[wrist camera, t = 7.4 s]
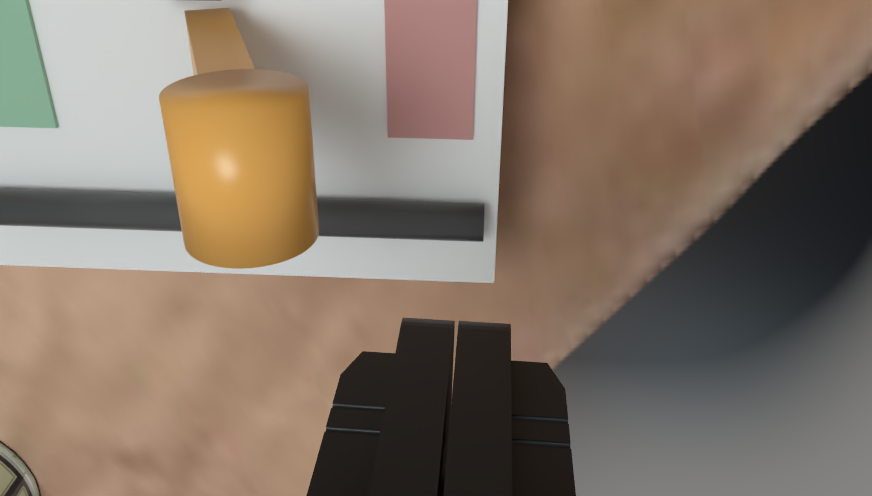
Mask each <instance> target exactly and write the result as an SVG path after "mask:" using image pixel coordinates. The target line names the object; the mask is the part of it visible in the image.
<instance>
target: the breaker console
mask: <svg viewBox="0 0 872 496" xmlns="http://www.w3.org/2000/svg"><path fill="white" fill-rule="evenodd" d="M217 8H229V9H230V11H231V13H232V16H233V18H234V20H235V23H236V25H237V27H238V30H239V32H240V35H241V37H242V39H243V42H244V44H245V46H246V49H247V51H248V53H249V56H250V58H251V60H252V63H253V65H254V68H255V69H263V70H273V71H280V72H285V73H289V74H292V75H295V76H298V77H300V78H302V79H303V80H304V81H306V83H307V84H308V87H309V99H310V112H311V126H312V139H313V152H314V166H315V179H316V192H317V206H318V219H319V236H318V238H317V240H316V242H315V243H314V244H313V245H312V246H311V247H310V248H309V249H308V250H306V251H305V252H303V253H302V254H300V255H298V256H296V257H294V258H292V259H289V260H287V261H284V262H281V263H277V264H273V265H269V266H263V267H256V268H244V269H234V268H222V267H216V266H212V265H208V264H205V263H202V262H200V261H198V260H196V259H194V258H193V257H192V256H190V255H189V253H188V252H187V251H186V249H185V246H184V241H183V235H182V229H181V224H180V218H179V212H178V206H177V200H176V194H175V189H174V183H173V177H172V171H171V165H170V160H169V154H168V148H167V142H166V136H165V130H164V125H163V119H162V113H161V107H160V101H159V94H160V92H161V91H162V90H163V89H164V88H165V87H167V86H168V85H170V84H172V83H173V82H176V81H178V80H181V79H184V78H187V77H190V76H194V74H193V67H192V60H191V54H190V47H189V40H188V33H187V26H186V20H185V13H184V11H185V10H201V9H217ZM507 13H508V0H0V265H16V266H44V267H71V268H98V269H126V270H153V271H180V272H207V273H235V274H262V275H289V276H316V277H344V278H371V279H398V280H426V281H453V282H480V283H494V275H495V255H496V235H497V214H498V194H499V174H500V154H501V134H502V114H503V93H504V73H505V53H506V33H507Z"/></svg>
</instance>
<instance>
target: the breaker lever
mask: <svg viewBox="0 0 872 496" xmlns="http://www.w3.org/2000/svg"><path fill="white" fill-rule="evenodd" d="M184 13H185V20H186V26H187V33H188V40H189V47H190V54H191V60H192V67H193V74H194V76H190V77H187V78H184V79H181V80H178V81H176V82H173V83H172V84H170V85H168V86H167V87H165V88H164V89H163V90H162V91H161V92H160V94H159V101H160V107H161V113H162V119H163V125H164V130H165V136H166V142H167V148H168V154H169V160H170V165H171V171H172V177H173V183H174V189H175V194H176V200H177V206H178V212H179V218H180V224H181V229H182V235H183V241H184V246H185V249H186V251H187V252H188V253H189V255H190V256H192V257H193V258H194V259H196V260H198V261H200V262H202V263H205V264H208V265H212V266H216V267H222V268H234V269H244V268H256V267H263V266H269V265H273V264H277V263H281V262H284V261H287V260H289V259H292V258H294V257H296V256H298V255H300V254H302V253H303V252H305V251H306V250H308V249H309V248H310V247H311V246H312V245H313V244H314V243H315V242H316V240H317V238H318V236H319V219H318V206H317V192H316V179H315V166H314V152H313V139H312V126H311V112H310V99H309V87H308V84H307V83H306V81H304V80H303V79H302V78H300V77H298V76H295V75H292V74H289V73H285V72H280V71H273V70H263V69H255V68H254V65H253V63H252V60H251V58H250V56H249V53H248V51H247V49H246V46H245V44H244V42H243V39H242V37H241V35H240V32H239V30H238V27H237V25H236V23H235V20H234V18H233V16H232V13H231V11H230V9H229V8H217V9H201V10H185V11H184Z"/></svg>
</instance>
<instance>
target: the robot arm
mask: <svg viewBox="0 0 872 496" xmlns="http://www.w3.org/2000/svg"><path fill="white" fill-rule="evenodd" d="M453 353H454V321H448V320H432V319H416V318H403V319H402V323H401V328H400V333H399V338H398V343H397V348H396V353H379V352H362V353H361V354H360V355H359V356H358V357H357V358H356V359H355V360H354V361H353V362H352V363H351V364H350V365H349V366H348V367H347V368H346V370H345V371H344V372H343V373H342V374H341V375H340V379H339V383H338V386H337V390H336V393H335V397H334V400H333V407H332V408H331V411H330V415H329V418H328V422H327V425H326V432H324V436H323V439H322V443H321V447H320V450H319V454H318V457H317V461H316V464H315V468H314V471H313V475H312V479H311V482H310V486H309V489H308V493H307V496H576V494H575V484H574V474H573V464H572V453H571V449H570V434H569V424H568V413H567V404H566V394H565V388H564V387H563V385H562V384H561V382H560V381H559V379H558V378H557V377H556V375H555V374H554V372H553V371H552V369H551V368H550V366H549V365H548V363H539V362H524V361H511V325H510V324H501V323H484V322H468V321H459V324H458V335H457V347H456V358H455V370H454V381H453V393H452V377H453ZM451 402H452V404H451Z"/></svg>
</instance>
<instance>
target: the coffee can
mask: <svg viewBox="0 0 872 496" xmlns="http://www.w3.org/2000/svg"><path fill="white" fill-rule="evenodd" d="M0 496H39V491H38V487H37V485H36V481H35V479H34V477H33V475H32V474H31V472H30V471H29V469H28V468H27V466H26V465H25V464H24V462H23V461H22V460H21V459H20V458H19V457H18V456H17V455H16V454H15V453H14V452H13V451H11V450H10V449H8V448H7V447H6V446H5V445H3V444H2V443H0Z"/></svg>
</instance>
